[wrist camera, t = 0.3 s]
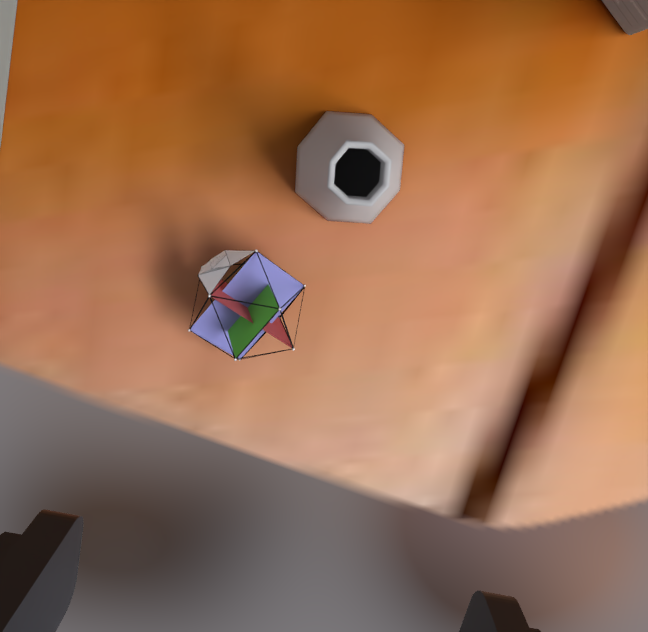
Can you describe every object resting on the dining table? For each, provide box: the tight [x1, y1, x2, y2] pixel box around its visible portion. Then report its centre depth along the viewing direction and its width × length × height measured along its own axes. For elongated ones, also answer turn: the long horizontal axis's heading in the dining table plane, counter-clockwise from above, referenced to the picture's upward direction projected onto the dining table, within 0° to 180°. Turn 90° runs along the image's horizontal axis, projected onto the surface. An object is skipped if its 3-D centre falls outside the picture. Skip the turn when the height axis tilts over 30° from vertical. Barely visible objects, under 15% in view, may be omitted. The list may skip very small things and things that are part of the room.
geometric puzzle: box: [188, 250, 306, 361], centre depth 36 cm, size 7×7×8 cm
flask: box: [295, 111, 404, 224], centre depth 32 cm, size 7×7×10 cm
